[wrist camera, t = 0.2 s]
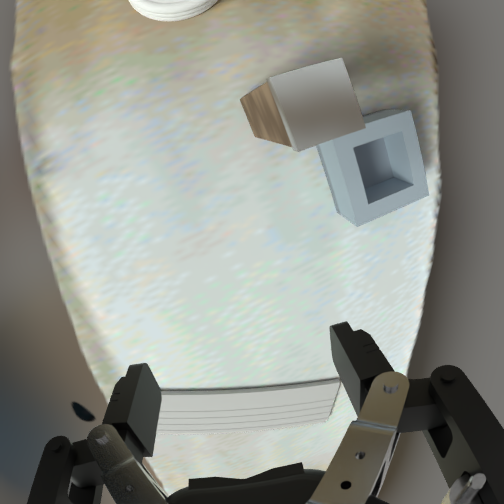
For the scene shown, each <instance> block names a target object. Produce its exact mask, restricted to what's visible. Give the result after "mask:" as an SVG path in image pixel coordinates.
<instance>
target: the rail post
mask: <svg viewBox="0 0 504 504" xmlns="http://www.w3.org/2000/svg"><path fill="white" fill-rule="evenodd" d="M240 101H241V103H242V106H243V108H244V111H245V113H246V116H247V118H248V121H249V123H250V126H251V128H252V131H253V133H254V136H255V137H257V138H261V139H265V140H269V141H272V142H276V143H279V144H283V145H286V146H290V147H292V148H293V150H295V151H298V152H299V151H302V150H305V149H307V148H310V147H313V146H316V145H318V144H321V143H324V142H327V141H330V140H333V139H335V138H338V137H341V136H344V135H347V134H350V133H353V132H356V131H359V130H362V129H365V128H366V126H365V123H364V120H363V116H362V113H361V110H360V107H359V104H358V101H357V98H356V95H355V92H354V89H353V86H352V83H351V81H350V78H349V75H348V72H347V70H346V67H345V64H344V62H343V59H342V58H337V59H333V60H329V61H325V62H321V63H318V64H314V65H310V66H306V67H303V68H299V69H296V70H292V71H289V72H286V73H283V74H279V75H276V76H273V77H270V78H268V79H267V82H266V83H265V84H263V85H261V86H260V87H258V88H257V89H255V90H253V91H252V92H250V93H249V94H247V95H246V96H244V97H243V98H241V99H240Z"/></svg>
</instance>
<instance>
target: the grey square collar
mask: <svg viewBox="0 0 504 504" xmlns="http://www.w3.org/2000/svg"><path fill="white" fill-rule="evenodd" d="M363 120H364V123H365V126H366V128H365V129H362V130H359V131H356V132H353V133H350V134H347V135H344V136H341V137H338V138H335V139H333V140H330V141H327V142H324V143H321V144H318V145H316V146H317V149H318V152H319V155H320V158H321V161H322V164H323V167H324V170H325V174H326V177H327V180H328V183H329V186H330V190H331V193H332V196H333V200H334V203H335V206H336V210H337V213H339V214H340V215H342V216H343V217H344V218H346V219H347V220H348V221H350V222H351V223H353V224H354V225H355V226H357V227H358V226H360V225H363V224H365V223H367V222H370V221H372V220H374V219H376V218H379V217H381V216H383V215H386V214H388V213H390V212H392V211H395V210H397V209H399V208H401V207H404V206H406V205H408V204H410V203H413V202H415V201H417V200H419V199H422V198H424V197H426V196H428V195H429V192H428V186H427V180H426V175H425V169H424V164H423V159H422V155H421V150H420V146H419V141H418V137H417V133H416V129H415V125H414V121H413V117H412V113H411V110H382V111H378V112H375V113H372V114H368V115H365V116H363Z"/></svg>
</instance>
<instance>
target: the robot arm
mask: <svg viewBox="0 0 504 504" xmlns="http://www.w3.org/2000/svg"><path fill="white" fill-rule="evenodd" d="M330 339H331V350H332V357H333V362H334V365H335V367H336V370H337V372H338V374H339V376H340V378H341V381H342V383H343V385H344V387H345V389H346V392H347V394H348V396H349V398H350V401H351V403H352V405H353V407H354V410H355V412H356V414H357V416H358V418H357V420H356V421H352V422H351V424H350V425H349V427H348V429H347V432H346V434H345V436H344V438H343V440H342V442H341V444H340V446H339V448H338V450H337V452H336V454H335V455H334V457H333V459H332V461H331V463H330V465H329V467H328V469H327V470H326V471H321V470H314V469H303V465H302V462H300V463H296V464H292V465H287V466H282V467H277V468H273V469H270V470H268V471H265V472H263V473H260V474H258V475H255V476H252V477H250V478H247V479H234V478H223V477H208V478H196V479H189V487H186V488H183V489H180V490H178V491H177V492H175V493H173V494H172V495H170V496H168V495H167V494H166V493H165V492H164V490H163V489H162V488H161V487H160V486H159V484H158V483H157V482H156V480H155V479H154V478H153V477H152V475H151V474H150V473H149V471H148V470H147V469H146V467H145V466H144V465H143V464H142V459H143V457H152V456H153V450H154V443H155V437H156V431H157V425H158V419H159V413H160V407H161V402H162V395H161V390H160V387H159V385H158V383H157V382H156V380H155V378H154V376H153V374H152V372H151V370H150V368H149V366H148V364H147V363H141V364H134V365H130V366H129V368H128V371H127V374H126V377H121V379H120V380H119V381H118V382H117V383H116V385H115V387H114V390H113V393H112V395H111V398H110V402H109V404H108V407H107V410H106V413H105V416H104V419H103V422H102V424H101V425H98V426H96V427H94V428H93V429H92V430H91V431H90V432H89V434H88V436H87V439H85V440H81V441H78V442H74V443H71V442H70V440H69V439H68V438H67V437H65V436H57V437H54V438H52V439H51V440H50V441H49V442H48V443H47V444H46V446H45V448H44V451H43V454H42V457H41V460H40V463H39V466H38V469H37V472H36V475H35V478H34V482H33V485H32V488H31V491H30V495H29V498H28V502H27V504H100V503H101V496H102V489H103V484H105V486H106V487H107V489H108V491H109V493H110V494H111V496H112V498H113V500H114V501H115V503H116V504H389V503H387V502H385V501H383V500H380V499H379V498H377V496H378V494H379V491H380V489H381V486H382V484H383V482H384V478H385V476H386V473H387V470H388V467H389V464H390V461H391V459H392V456H393V453H394V450H395V448H396V445H397V442H398V439H399V436H400V433H403V432H413V431H421V430H422V431H423V433H424V435H425V437H426V439H427V441H428V444H429V446H430V447H431V450H432V452H433V454H434V456H435V458H436V460H437V462H438V464H439V467H440V469H441V471H442V473H443V475H444V478H445V480H446V482H447V484H448V487H449V491H448V493H447V494H446V495H445V497H444V499H443V500H442V503H441V504H504V429H503V428H502V426H501V425H500V423H499V422H498V420H497V419H496V417H495V416H494V414H493V413H492V411H491V410H490V408H489V407H488V406H487V404H486V403H485V401H484V400H483V398H482V397H481V396H480V394H479V393H478V392H477V390H476V389H475V387H474V386H473V385H472V383H471V382H470V380H469V379H468V378H467V376H466V375H465V374H464V372H463V371H462V370H461V369H460V368H458V367H455V366H452V365H444V366H440V367H438V368H436V369H435V370H434V371H433V372H432V374H431V377H430V378H424V379H414V380H413V379H408V378H407V377H406V376H405V375H403V374H401V373H399V372H395V371H394V370H393V368H392V367H391V365H390V364H389V362H388V361H387V359H386V358H385V356H384V355H383V353H382V352H381V350H379V347H378V346H377V344H375V341H374V340H373V338H372V337H371V335H370V334H368V333H367V332H365V331H363V330H361V329H360V330H357V331H353V330H352V328H351V327H350V325H349V323H348V322H347V321H346V322H342V323H339V324H335V325H331V326H330ZM70 480H71V481H72V484H71V488H70V492H69V497H68V494H67V493H68V487H69V483H70Z"/></svg>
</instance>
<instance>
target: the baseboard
mask: <svg viewBox="0 0 504 504" xmlns="http://www.w3.org/2000/svg"><path fill="white" fill-rule="evenodd" d="M339 385H340V381H339V379H334V380H327V381H320V382H312V383H304V384H295V385H285V386H275V387H263V388H250V389H233V390H208V391H161V395H162V402H161V407H160V413H159V419H158V425H157V431H156V434H169V435H196V434H225V433H241V432H254V431H264V430H274V429H283V428H290V427H298V426H305V425H311V424H317V423H323V422H326V421H327V420H328V419H329V415H330V413H331V409H332V407H333V403H334V401H335V397H336V394H337V391H338V388H339Z"/></svg>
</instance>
